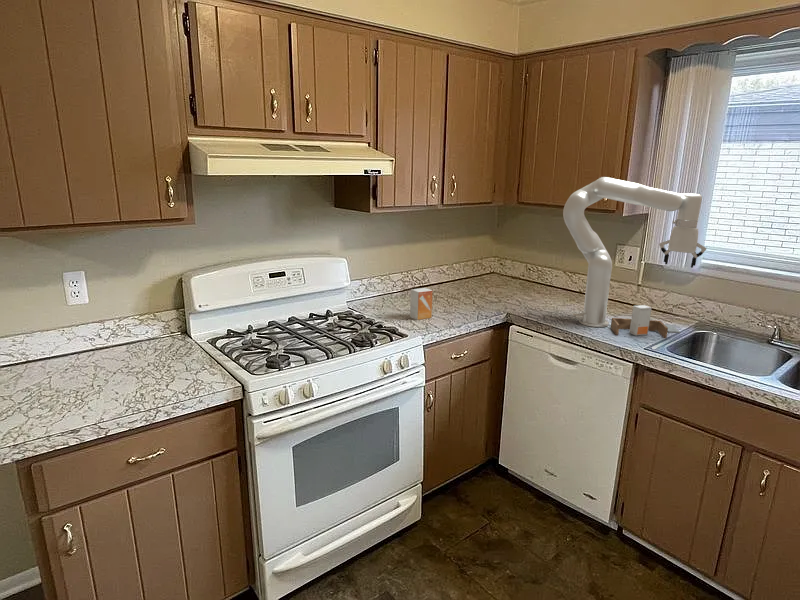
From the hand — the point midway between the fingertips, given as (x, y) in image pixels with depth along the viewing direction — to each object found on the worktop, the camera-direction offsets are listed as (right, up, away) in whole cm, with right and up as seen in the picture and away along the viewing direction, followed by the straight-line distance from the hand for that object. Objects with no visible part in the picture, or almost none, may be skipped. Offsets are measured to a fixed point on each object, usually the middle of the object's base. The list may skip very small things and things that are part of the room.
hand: (678, 265), depth 217 cm
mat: (-1, -27, +10) cm, 29 cm away
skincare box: (-16, -29, +3) cm, 33 cm away
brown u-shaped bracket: (-15, -28, +3) cm, 32 cm away
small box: (-107, -23, +21) cm, 111 cm away
